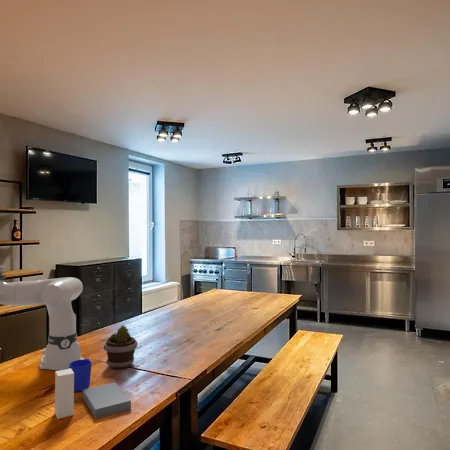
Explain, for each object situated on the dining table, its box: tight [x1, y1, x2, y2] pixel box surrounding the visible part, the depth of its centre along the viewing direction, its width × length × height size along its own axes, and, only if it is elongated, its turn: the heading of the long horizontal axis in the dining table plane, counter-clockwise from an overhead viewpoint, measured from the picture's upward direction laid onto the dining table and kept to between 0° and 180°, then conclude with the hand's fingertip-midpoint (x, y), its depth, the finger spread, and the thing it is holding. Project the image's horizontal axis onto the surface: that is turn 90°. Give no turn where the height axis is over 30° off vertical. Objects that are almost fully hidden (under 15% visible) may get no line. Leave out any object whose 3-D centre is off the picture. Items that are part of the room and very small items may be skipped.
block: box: [54, 368, 75, 420], centre depth 127 cm, size 5×5×14 cm
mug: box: [68, 358, 93, 392], centre depth 148 cm, size 8×12×10 cm
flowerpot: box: [102, 324, 138, 370], centre depth 171 cm, size 14×15×20 cm
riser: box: [82, 381, 132, 419], centre depth 134 cm, size 18×12×3 cm, turn 34°
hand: (0, 271), depth 128 cm, fingers open, 8 cm apart
